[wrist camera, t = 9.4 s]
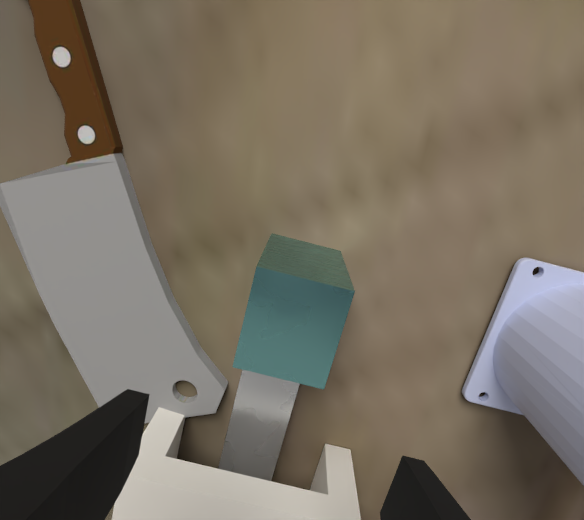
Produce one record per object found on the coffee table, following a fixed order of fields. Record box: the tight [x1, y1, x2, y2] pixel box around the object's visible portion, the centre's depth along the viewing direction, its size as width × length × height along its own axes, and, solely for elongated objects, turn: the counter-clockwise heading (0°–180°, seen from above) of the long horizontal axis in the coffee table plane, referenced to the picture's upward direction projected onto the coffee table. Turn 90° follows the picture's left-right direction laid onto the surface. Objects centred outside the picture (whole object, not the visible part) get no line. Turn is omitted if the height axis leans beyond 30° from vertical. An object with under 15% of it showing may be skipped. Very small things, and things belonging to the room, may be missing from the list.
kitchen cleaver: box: [0, 0, 228, 423], centre depth 19 cm, size 24×1×10 cm
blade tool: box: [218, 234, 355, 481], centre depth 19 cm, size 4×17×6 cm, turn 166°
